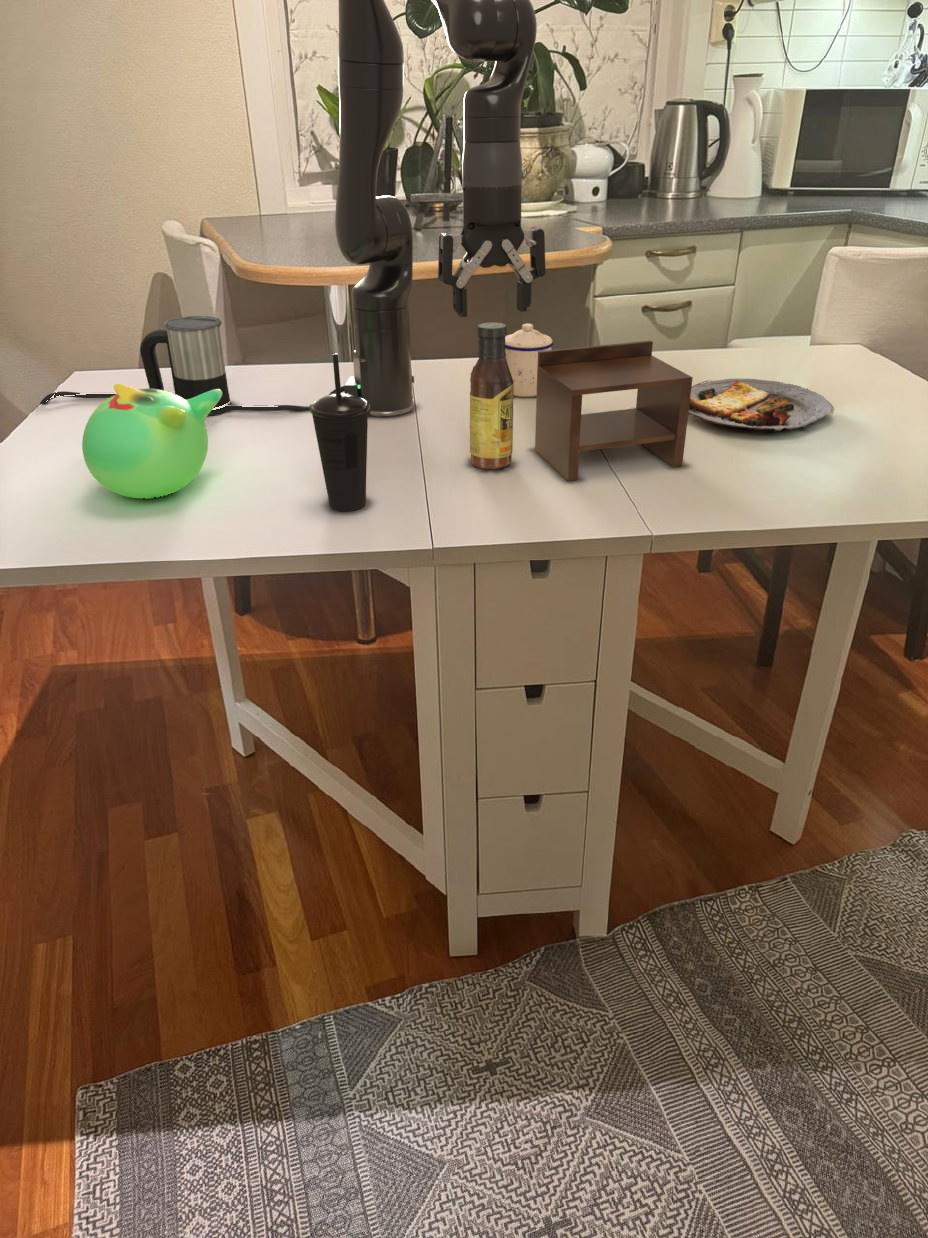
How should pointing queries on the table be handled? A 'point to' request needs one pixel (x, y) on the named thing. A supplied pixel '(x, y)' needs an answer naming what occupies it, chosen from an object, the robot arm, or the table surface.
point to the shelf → (606, 371)
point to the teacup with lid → (525, 358)
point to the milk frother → (189, 358)
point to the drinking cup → (342, 445)
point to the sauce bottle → (491, 401)
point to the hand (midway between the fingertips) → (492, 313)
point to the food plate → (757, 404)
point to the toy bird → (147, 440)
